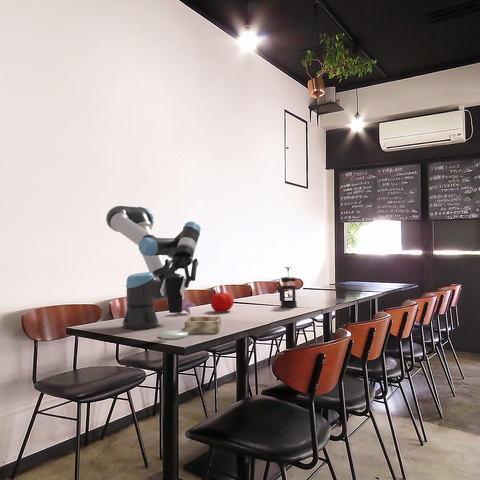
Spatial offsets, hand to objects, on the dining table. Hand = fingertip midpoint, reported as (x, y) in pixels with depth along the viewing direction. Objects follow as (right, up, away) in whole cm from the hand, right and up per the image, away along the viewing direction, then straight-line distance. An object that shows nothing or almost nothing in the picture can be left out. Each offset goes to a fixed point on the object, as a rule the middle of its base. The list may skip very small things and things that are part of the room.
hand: (171, 293), depth 156 cm
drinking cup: (+1, -8, +3) cm, 8 cm away
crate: (+11, -17, +16) cm, 26 cm away
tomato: (+16, -19, +68) cm, 72 cm away
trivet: (0, -17, +4) cm, 17 cm away
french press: (+54, -19, +83) cm, 101 cm away
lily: (-4, -19, +61) cm, 64 cm away
